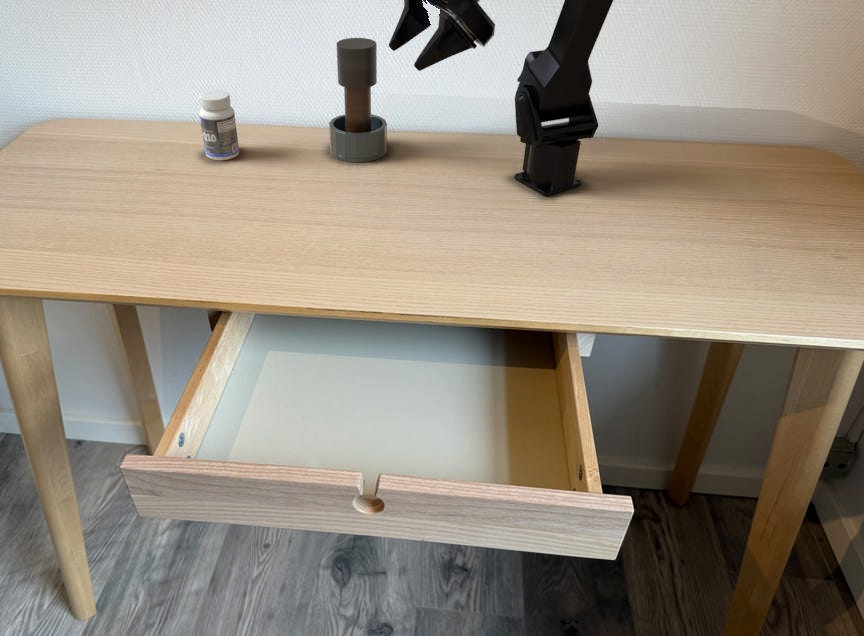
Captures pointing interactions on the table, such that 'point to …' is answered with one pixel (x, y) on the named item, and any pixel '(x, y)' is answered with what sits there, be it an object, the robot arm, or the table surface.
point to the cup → (358, 140)
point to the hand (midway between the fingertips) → (403, 58)
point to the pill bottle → (218, 125)
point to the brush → (357, 80)
